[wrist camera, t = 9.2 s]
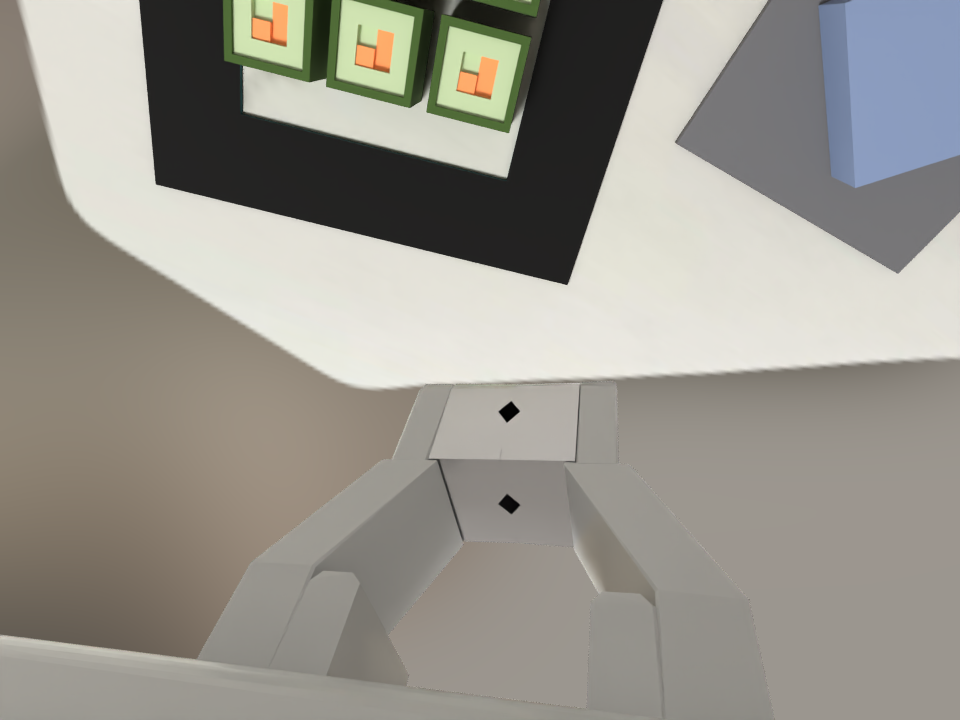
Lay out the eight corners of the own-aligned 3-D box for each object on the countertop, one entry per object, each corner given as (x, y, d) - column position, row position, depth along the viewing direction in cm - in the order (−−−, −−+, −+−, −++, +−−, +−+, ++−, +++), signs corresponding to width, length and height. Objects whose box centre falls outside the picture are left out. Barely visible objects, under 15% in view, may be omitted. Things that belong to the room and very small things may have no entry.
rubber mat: (936, -255, 21) (943, -259, 21) (1202, -40, 23) (1211, -41, 23) (675, 142, 29) (676, 143, 28) (894, 271, 31) (898, 273, 31)
